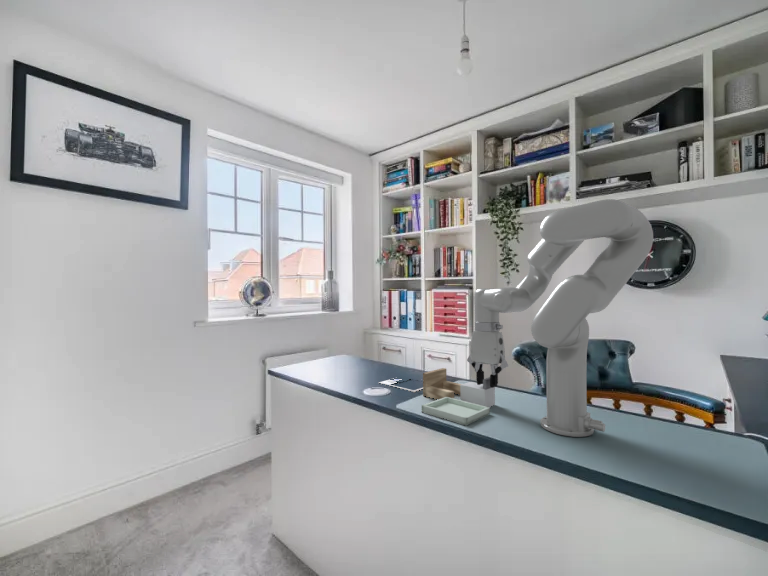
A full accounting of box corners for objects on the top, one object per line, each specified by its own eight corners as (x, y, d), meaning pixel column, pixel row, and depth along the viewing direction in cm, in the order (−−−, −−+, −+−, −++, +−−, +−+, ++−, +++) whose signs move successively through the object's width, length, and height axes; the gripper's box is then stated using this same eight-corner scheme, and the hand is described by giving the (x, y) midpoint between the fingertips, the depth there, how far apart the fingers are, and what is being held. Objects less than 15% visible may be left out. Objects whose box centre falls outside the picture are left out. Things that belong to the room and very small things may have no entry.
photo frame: (402, 375, 154) (437, 383, 141) (402, 378, 154) (437, 385, 141) (378, 381, 143) (414, 390, 131) (378, 384, 143) (414, 393, 131)
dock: (470, 396, 126) (470, 373, 126) (450, 403, 118) (450, 378, 118) (443, 389, 134) (443, 368, 134) (423, 396, 126) (423, 373, 126)
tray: (489, 414, 107) (489, 407, 107) (466, 425, 98) (466, 418, 98) (446, 402, 118) (446, 396, 118) (421, 411, 110) (421, 405, 110)
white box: (494, 405, 116) (494, 377, 116) (485, 409, 112) (485, 380, 112) (470, 399, 123) (470, 372, 123) (460, 403, 118) (460, 375, 118)
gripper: (517, 328, 112) (517, 388, 111) (470, 324, 124) (470, 378, 123) (505, 330, 106) (506, 393, 106) (457, 326, 118) (457, 382, 118)
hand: (487, 384), depth 115 cm, fingers open, 3 cm apart
